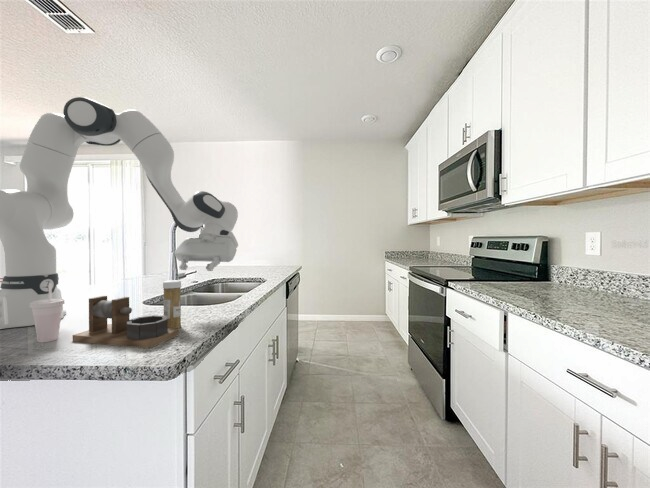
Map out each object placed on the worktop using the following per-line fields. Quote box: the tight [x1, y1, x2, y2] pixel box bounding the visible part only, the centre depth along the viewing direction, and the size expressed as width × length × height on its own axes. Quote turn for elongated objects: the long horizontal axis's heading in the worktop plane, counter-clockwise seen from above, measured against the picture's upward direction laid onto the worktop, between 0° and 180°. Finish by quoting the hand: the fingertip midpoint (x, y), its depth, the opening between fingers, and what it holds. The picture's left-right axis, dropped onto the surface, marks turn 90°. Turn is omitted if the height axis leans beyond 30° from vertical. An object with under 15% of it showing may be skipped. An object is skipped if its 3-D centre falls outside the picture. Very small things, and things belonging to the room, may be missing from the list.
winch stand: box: [72, 295, 180, 349], centre depth 77 cm, size 22×10×10 cm, turn 78°
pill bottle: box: [162, 279, 182, 329], centre depth 85 cm, size 5×5×14 cm
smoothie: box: [30, 283, 65, 343], centre depth 75 cm, size 6×6×14 cm
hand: (195, 269), depth 95 cm, fingers open, 8 cm apart
